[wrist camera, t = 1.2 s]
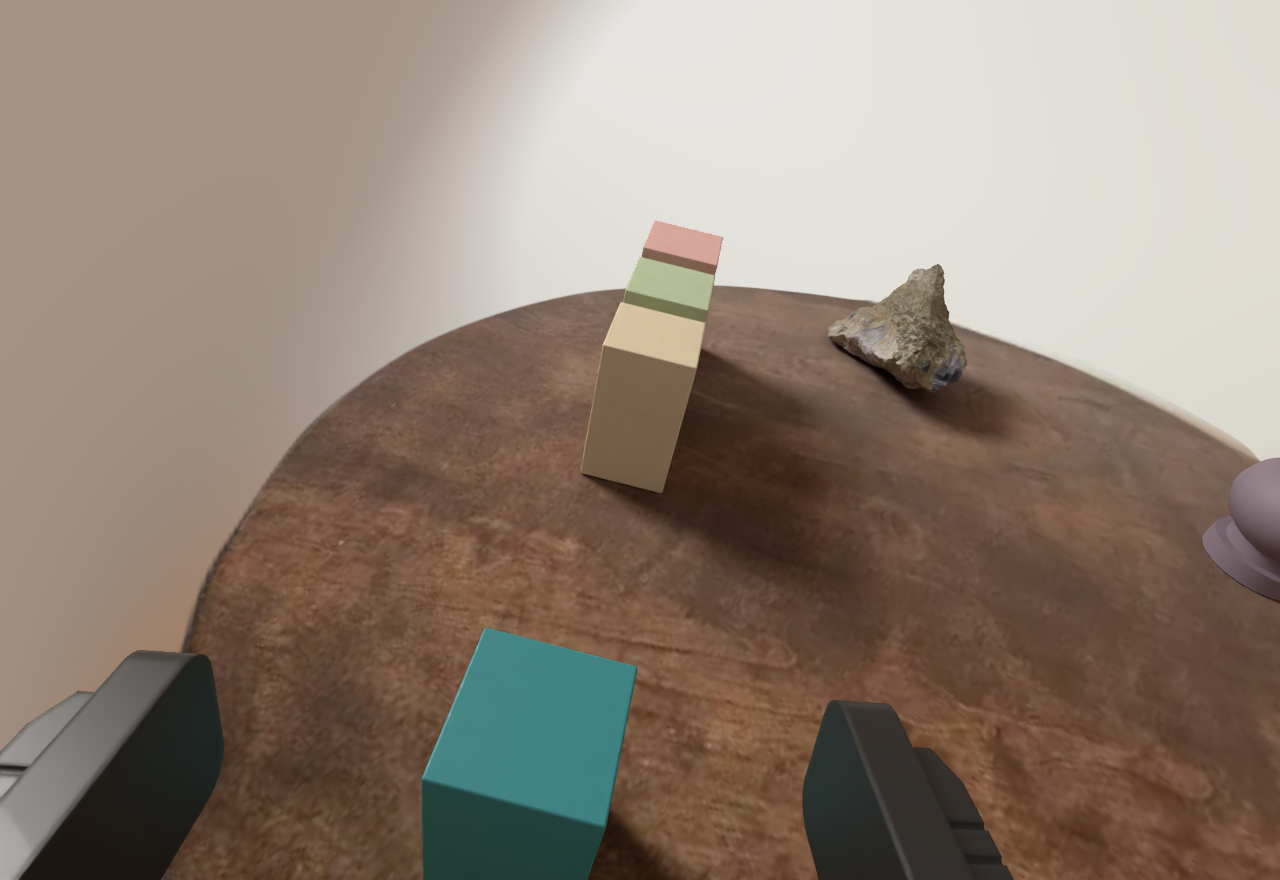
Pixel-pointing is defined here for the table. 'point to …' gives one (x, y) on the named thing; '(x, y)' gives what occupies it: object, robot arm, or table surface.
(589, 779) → the teal block
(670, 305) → the line block
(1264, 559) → the cat figurine
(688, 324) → the line block
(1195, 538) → the table surface
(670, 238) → the line block
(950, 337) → the rock
